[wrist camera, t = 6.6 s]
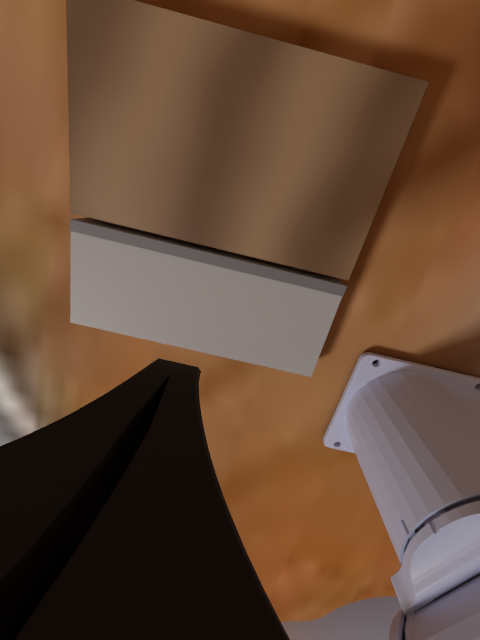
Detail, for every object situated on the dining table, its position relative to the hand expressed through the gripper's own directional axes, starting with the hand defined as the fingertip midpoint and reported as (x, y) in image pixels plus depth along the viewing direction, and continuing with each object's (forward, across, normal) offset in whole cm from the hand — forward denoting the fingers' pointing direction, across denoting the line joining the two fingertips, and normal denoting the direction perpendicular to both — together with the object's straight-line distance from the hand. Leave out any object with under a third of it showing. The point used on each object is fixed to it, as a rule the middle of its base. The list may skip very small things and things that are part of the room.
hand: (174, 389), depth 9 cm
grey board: (+9, 0, 0) cm, 9 cm away
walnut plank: (+9, +1, -8) cm, 12 cm away
